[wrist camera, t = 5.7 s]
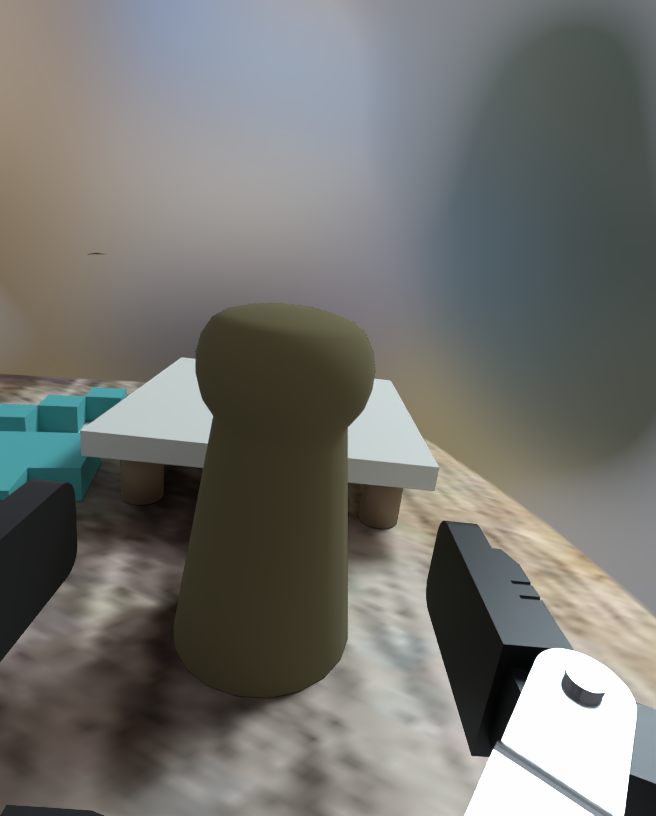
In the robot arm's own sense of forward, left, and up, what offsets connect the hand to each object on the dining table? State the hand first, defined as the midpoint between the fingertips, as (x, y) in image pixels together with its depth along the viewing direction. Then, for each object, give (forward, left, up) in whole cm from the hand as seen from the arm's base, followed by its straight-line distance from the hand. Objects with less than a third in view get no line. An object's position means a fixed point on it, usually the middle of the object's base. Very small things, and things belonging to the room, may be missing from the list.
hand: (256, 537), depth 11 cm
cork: (0, +5, -7) cm, 8 cm away
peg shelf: (-1, +19, -6) cm, 20 cm away
